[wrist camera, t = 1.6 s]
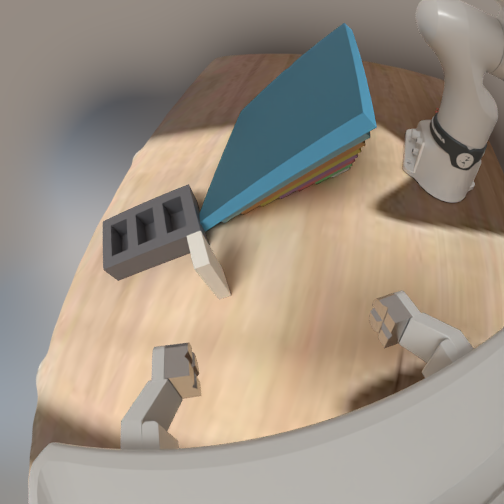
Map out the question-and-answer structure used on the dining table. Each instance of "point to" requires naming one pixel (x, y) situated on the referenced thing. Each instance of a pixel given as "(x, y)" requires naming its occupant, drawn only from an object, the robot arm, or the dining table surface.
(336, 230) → the dining table surface
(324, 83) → the stacked coloured sheets
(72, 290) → the dining table surface
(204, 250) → the white rectangular block
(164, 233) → the stand
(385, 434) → the robot arm
